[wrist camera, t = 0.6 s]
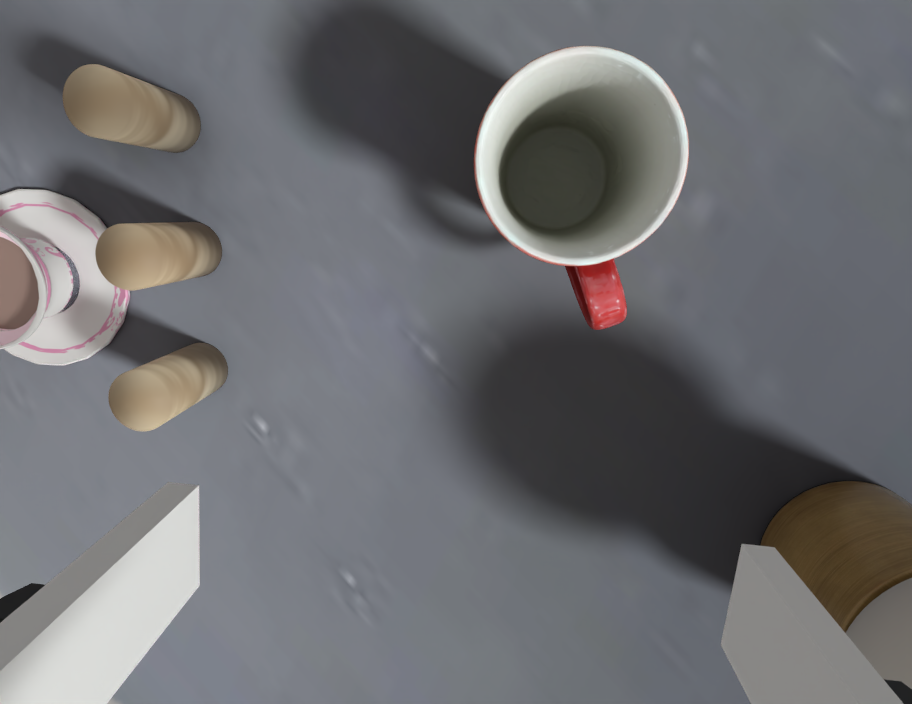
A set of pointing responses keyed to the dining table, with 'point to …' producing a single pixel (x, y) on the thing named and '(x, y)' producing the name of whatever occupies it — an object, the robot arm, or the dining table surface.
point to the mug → (582, 166)
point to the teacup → (53, 280)
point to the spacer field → (149, 238)
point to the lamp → (855, 565)
